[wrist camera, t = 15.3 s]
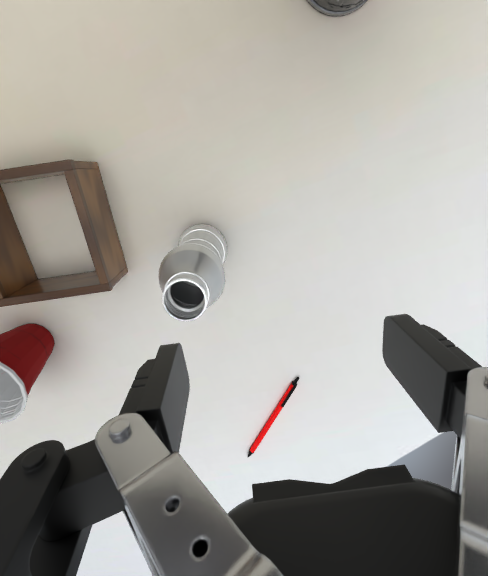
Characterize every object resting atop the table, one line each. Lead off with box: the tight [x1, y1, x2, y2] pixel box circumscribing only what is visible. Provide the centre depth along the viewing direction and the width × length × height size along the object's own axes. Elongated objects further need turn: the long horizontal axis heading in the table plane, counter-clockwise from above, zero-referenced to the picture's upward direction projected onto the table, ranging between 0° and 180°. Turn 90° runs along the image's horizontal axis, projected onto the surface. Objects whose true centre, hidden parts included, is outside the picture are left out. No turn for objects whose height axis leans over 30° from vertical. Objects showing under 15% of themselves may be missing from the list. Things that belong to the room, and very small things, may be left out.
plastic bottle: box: [159, 224, 227, 321], centre depth 34 cm, size 6×7×20 cm
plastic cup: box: [0, 324, 54, 424], centre depth 42 cm, size 11×11×12 cm
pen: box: [248, 377, 299, 457], centre depth 55 cm, size 1×19×1 cm, turn 154°
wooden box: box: [0, 160, 128, 307], centre depth 39 cm, size 15×14×7 cm
